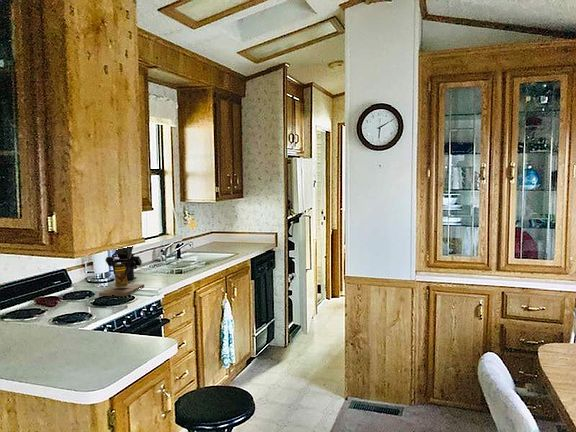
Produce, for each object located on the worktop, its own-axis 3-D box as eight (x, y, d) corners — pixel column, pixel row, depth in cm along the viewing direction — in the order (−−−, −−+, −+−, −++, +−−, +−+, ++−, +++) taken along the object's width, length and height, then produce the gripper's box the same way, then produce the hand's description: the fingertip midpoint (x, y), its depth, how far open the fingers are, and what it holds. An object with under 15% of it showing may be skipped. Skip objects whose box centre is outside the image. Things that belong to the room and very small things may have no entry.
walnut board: (118, 286, 288) (117, 284, 288) (144, 286, 285) (144, 284, 285) (98, 295, 268) (98, 293, 268) (126, 295, 266) (126, 293, 265)
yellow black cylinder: (121, 288, 272) (119, 266, 270) (110, 286, 276) (108, 265, 275) (131, 284, 278) (129, 263, 277) (120, 283, 282) (118, 262, 281)
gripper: (105, 242, 279) (97, 266, 269) (138, 241, 277) (131, 265, 268) (112, 253, 288) (105, 277, 278) (144, 253, 286) (138, 276, 276)
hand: (120, 274), depth 275 cm, fingers closed on yellow black cylinder, 6 cm apart
